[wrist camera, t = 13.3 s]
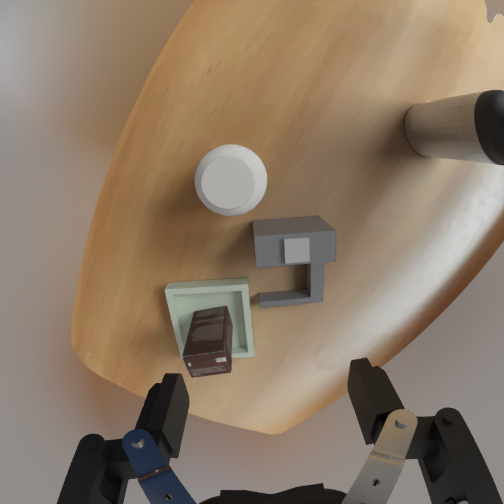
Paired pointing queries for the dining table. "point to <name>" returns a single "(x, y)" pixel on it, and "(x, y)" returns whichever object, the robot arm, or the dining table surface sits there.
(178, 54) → the dining table surface
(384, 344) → the dining table surface
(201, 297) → the tray
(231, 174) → the pill bottle
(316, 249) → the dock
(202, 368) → the box
